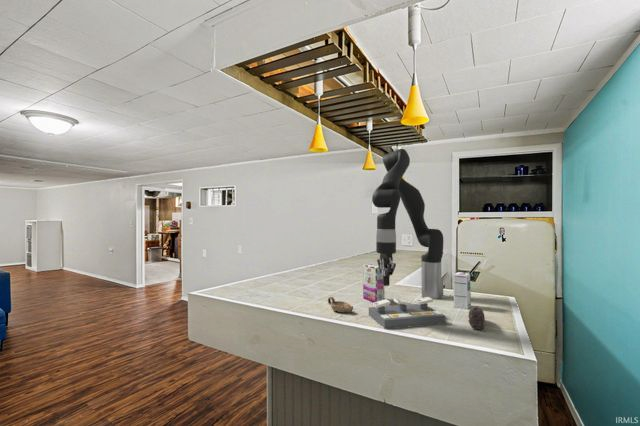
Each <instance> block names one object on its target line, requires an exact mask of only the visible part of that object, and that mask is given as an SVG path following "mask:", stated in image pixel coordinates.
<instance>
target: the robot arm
mask: <svg viewBox="0 0 640 426" xmlns="http://www.w3.org/2000/svg"><path fill="white" fill-rule="evenodd" d="M410 161H411V160H410V156H409V152H407V150H406V149H404V148H399V149H396V150H392V151H391V152H389V153H386V154H384V155H383V157H382V162H383V166H384V168H385V169H386V173H385V175H384V177H383V179H382V181H381V184H380V185H378V187H377V188H376V189H375V190H374V192H373V194H372V196H371V200H372V201H371V203H372V204H373V205H374V207H376V208H381V209H382V208H383V209H384V208H389V209H388V211H386V212H384V213H380V214H378V215H377V217H376V229H377V230H376V241H375V243H376V244H375V245H376V249H375V253H377V254H379V258H378V259H376V260H377V261H376V262H377V266H379V270H380V273H382V275H383V285H384V287H388V286H390V277H391V276H393V274H394V271H395V268H396V266H397V265H396V264H397V263H395V262H393V261H394V259H393V258H394V257H393V254H396V253H397V233H396V232H397V231H396V219H397V217H396V216H397V212H398V208H399V204H400V202H402V204H403V206H404V208H405V210H406V212H407V214H408V217H409V219H410V222H411V224H412V228H413V230H414V232H415V236H416V239H417V241H418V243H419V244H420V246H421V247H424V248H427V249H428V250H427V252H426V253H425V254H422V255H421V297H422V298H425V297H429V298H431V299H433V300H434V299H441V298H444V278H443V277H442V258H443V254H444V234H443V232H442V230H441V229H438V228H429V227H428V225H427V223H426V220H425V216H424V215H425V208H426V205H425V200H424V199H423V196H422V193H421V191H420V190H419V189H418V188H417V187H415V186H414V185H413V184H410V183H409V182H408V181H406V180H405V179H404V178H403V176H404V174H405V173H406V171H407V170H408V169H409V167H410V163H411V162H410Z"/></svg>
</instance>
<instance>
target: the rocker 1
mask: <svg viewBox="0 0 640 426" xmlns="http://www.w3.org/2000/svg"><path fill="white" fill-rule="evenodd" d="M390 305H391V301H390V300H388V299H386V298H384V300H381V301H378V302H372V307H375V308H379V307H382V306H390Z"/></svg>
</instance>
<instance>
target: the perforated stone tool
mask: <svg viewBox="0 0 640 426" xmlns="http://www.w3.org/2000/svg"><path fill="white" fill-rule="evenodd" d="M468 323H469V326H470V327H471V328H472V329H473V330H483V329H484V327H485V324H486V317H485V312H484V310H483V309H482V308H481V307H480V306H478V305H474V306H471V307H470V309H469V311H468Z"/></svg>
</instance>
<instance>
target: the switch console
mask: <svg viewBox="0 0 640 426" xmlns="http://www.w3.org/2000/svg"><path fill="white" fill-rule="evenodd" d="M428 304H429V303H425V304H421V305H419V304H417V303H412V306H410V305H404V304H399V305H386V306H382V307H379V308H375V307H374V306H372V307H371V306H370V307H368V315H369V317H371V318H372V319H373V320H374V321H375V322H376V323H377V322H378V323H377V324H379V326H381V327H382V326H383V327H384V328H387V329H395V328H394V327H399V328H407V327H408V326H411V327H422V326H423V327H424V326H433V325H442V324H443V325H444V324H445V325H446V315H445V314H443V313H441V312H439V311H438V310H436V309H434V308H432V307H430V306H428ZM383 327H382V328H383ZM384 328H383V329H384Z"/></svg>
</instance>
